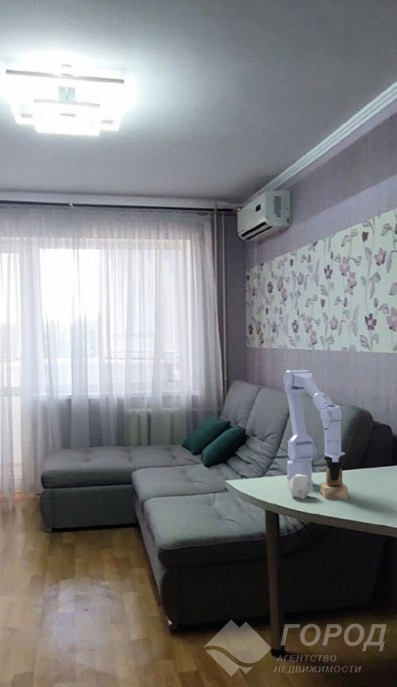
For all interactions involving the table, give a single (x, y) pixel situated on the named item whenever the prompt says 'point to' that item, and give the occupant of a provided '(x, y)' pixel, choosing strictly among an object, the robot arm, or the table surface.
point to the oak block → (334, 491)
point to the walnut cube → (329, 481)
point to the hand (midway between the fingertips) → (333, 478)
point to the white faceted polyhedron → (300, 486)
